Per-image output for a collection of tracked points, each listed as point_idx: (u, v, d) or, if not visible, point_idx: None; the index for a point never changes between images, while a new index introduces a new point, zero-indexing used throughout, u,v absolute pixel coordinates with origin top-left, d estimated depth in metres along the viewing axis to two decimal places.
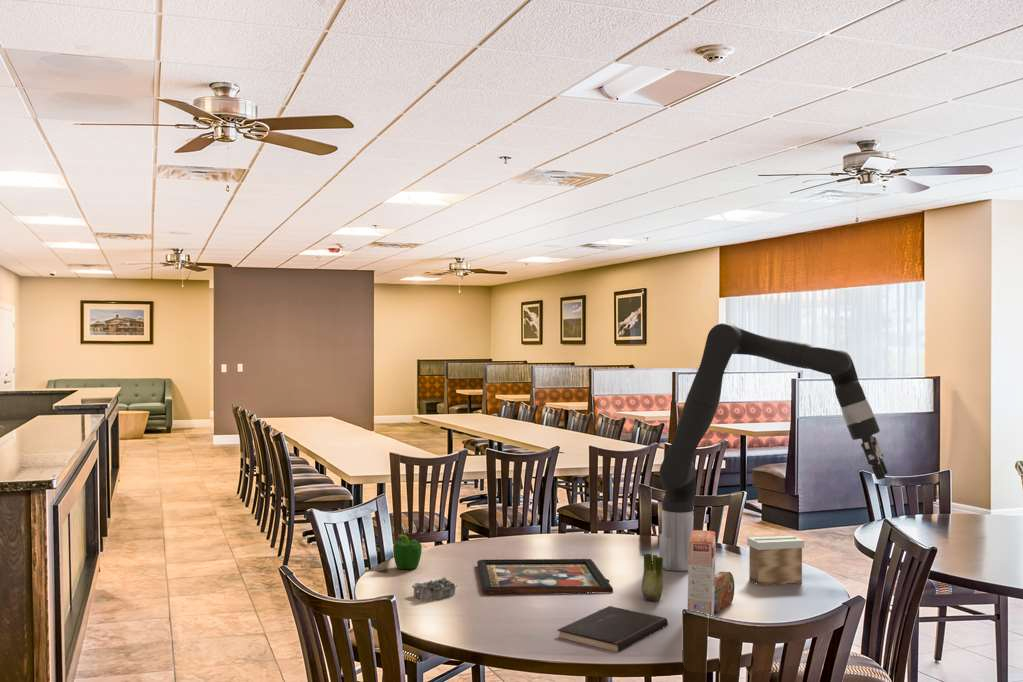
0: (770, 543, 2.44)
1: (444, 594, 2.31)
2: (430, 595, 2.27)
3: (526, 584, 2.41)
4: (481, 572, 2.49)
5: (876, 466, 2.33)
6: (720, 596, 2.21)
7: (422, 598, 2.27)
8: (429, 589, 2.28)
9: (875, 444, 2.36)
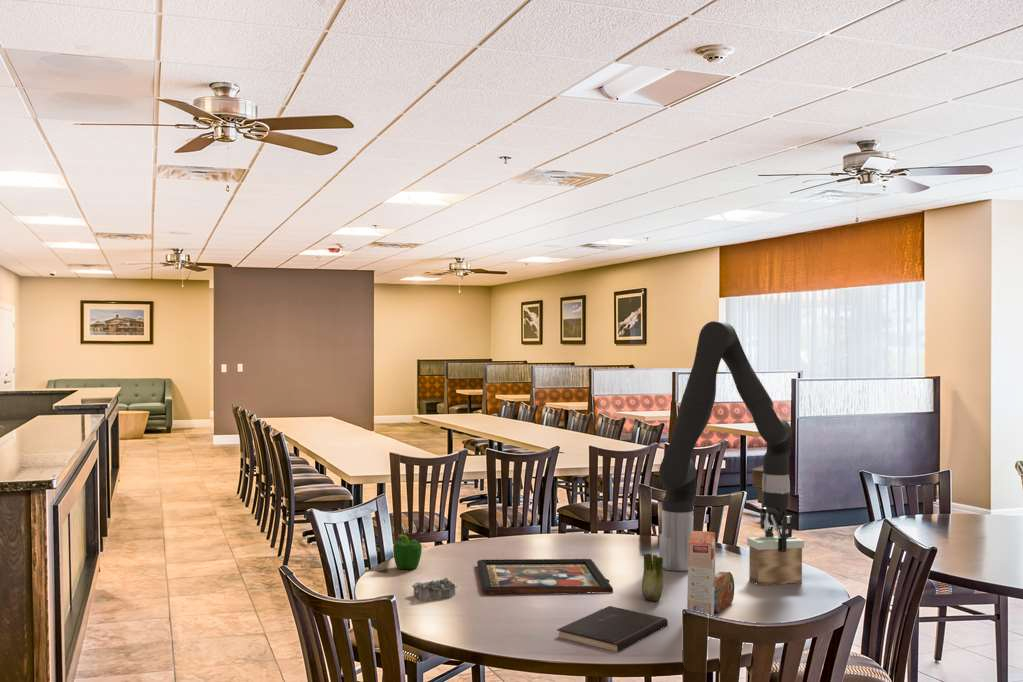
0: (770, 543, 2.44)
1: (444, 594, 2.31)
2: (428, 595, 2.27)
3: (526, 584, 2.41)
4: (481, 572, 2.49)
5: (784, 539, 2.44)
6: (720, 596, 2.21)
7: (420, 598, 2.27)
8: (428, 589, 2.28)
9: None
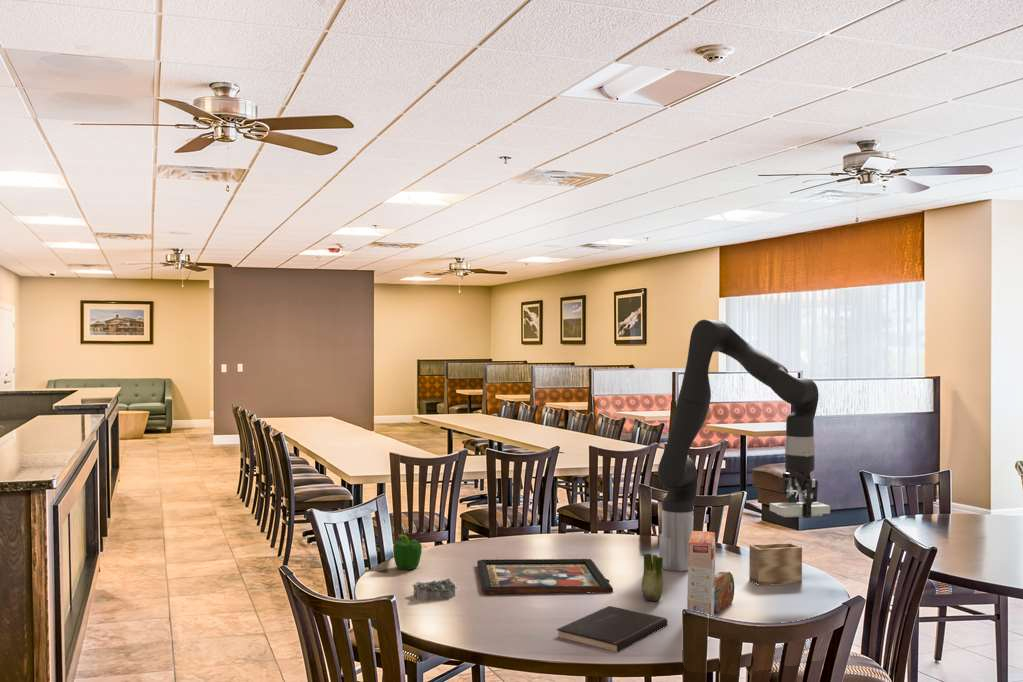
0: (794, 508, 2.32)
1: (443, 595, 2.30)
2: (426, 595, 2.27)
3: (526, 584, 2.41)
4: (481, 572, 2.49)
5: (809, 505, 2.31)
6: (720, 596, 2.21)
7: (419, 597, 2.28)
8: (426, 589, 2.28)
9: None
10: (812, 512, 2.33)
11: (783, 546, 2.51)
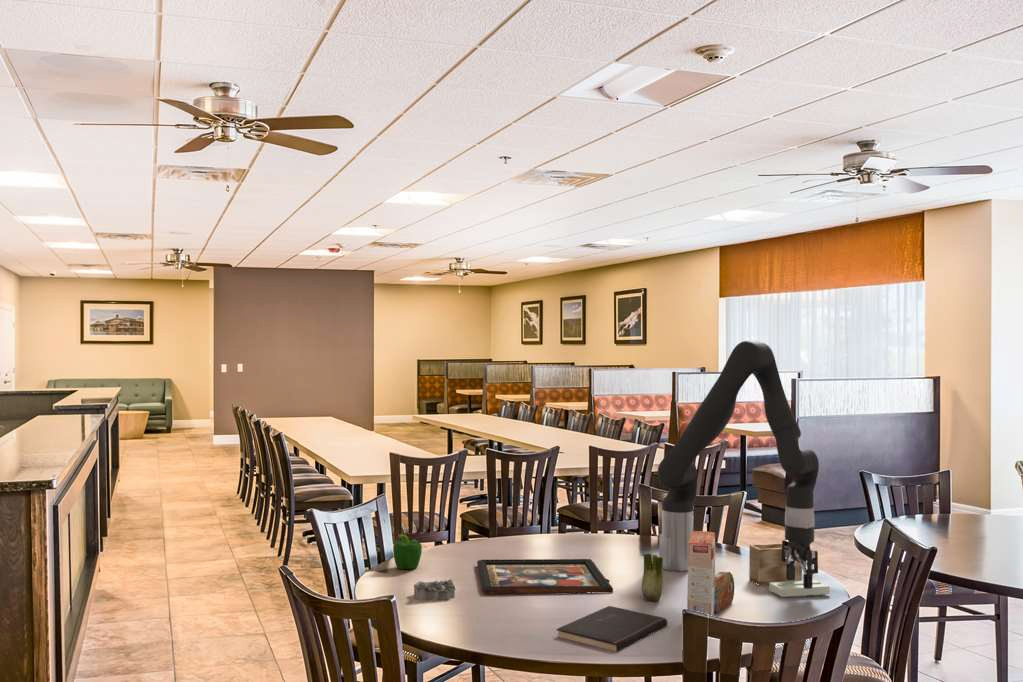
0: (794, 589, 2.32)
1: (442, 596, 2.30)
2: (424, 595, 2.27)
3: (526, 584, 2.41)
4: (481, 572, 2.49)
5: (810, 576, 2.31)
6: (720, 596, 2.21)
7: (416, 597, 2.28)
8: (424, 589, 2.28)
9: None
10: (812, 593, 2.33)
11: None
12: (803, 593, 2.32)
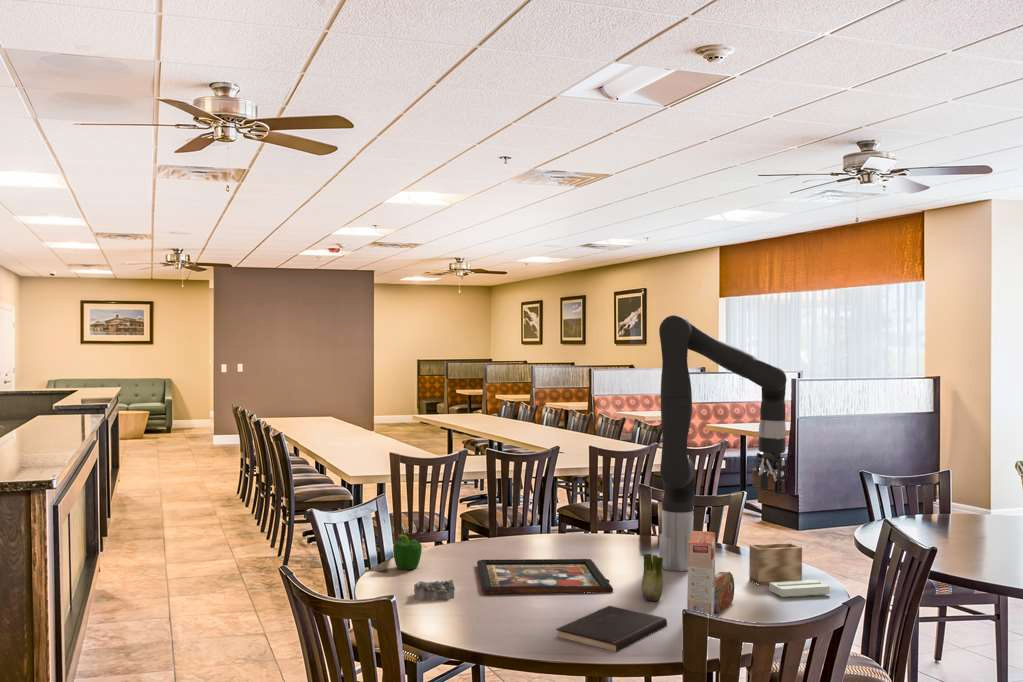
0: (794, 589, 2.32)
1: (441, 596, 2.29)
2: (422, 595, 2.27)
3: (526, 584, 2.41)
4: (481, 572, 2.49)
5: (780, 482, 2.50)
6: (720, 596, 2.21)
7: (416, 597, 2.28)
8: (423, 589, 2.28)
9: None
10: (812, 593, 2.33)
11: (783, 546, 2.51)
12: (803, 593, 2.32)
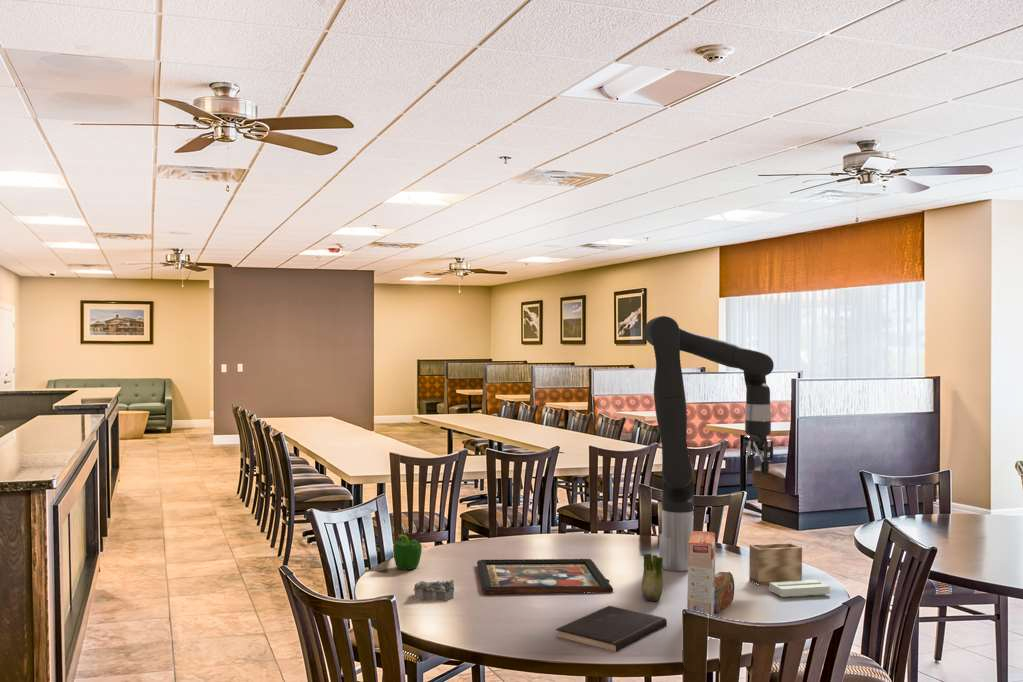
0: (794, 589, 2.32)
1: (440, 596, 2.29)
2: (421, 595, 2.28)
3: (526, 584, 2.41)
4: (481, 572, 2.49)
5: (766, 463, 2.61)
6: (720, 596, 2.21)
7: (415, 596, 2.29)
8: (422, 589, 2.28)
9: None
10: (812, 593, 2.33)
11: (783, 546, 2.51)
12: (803, 593, 2.32)
